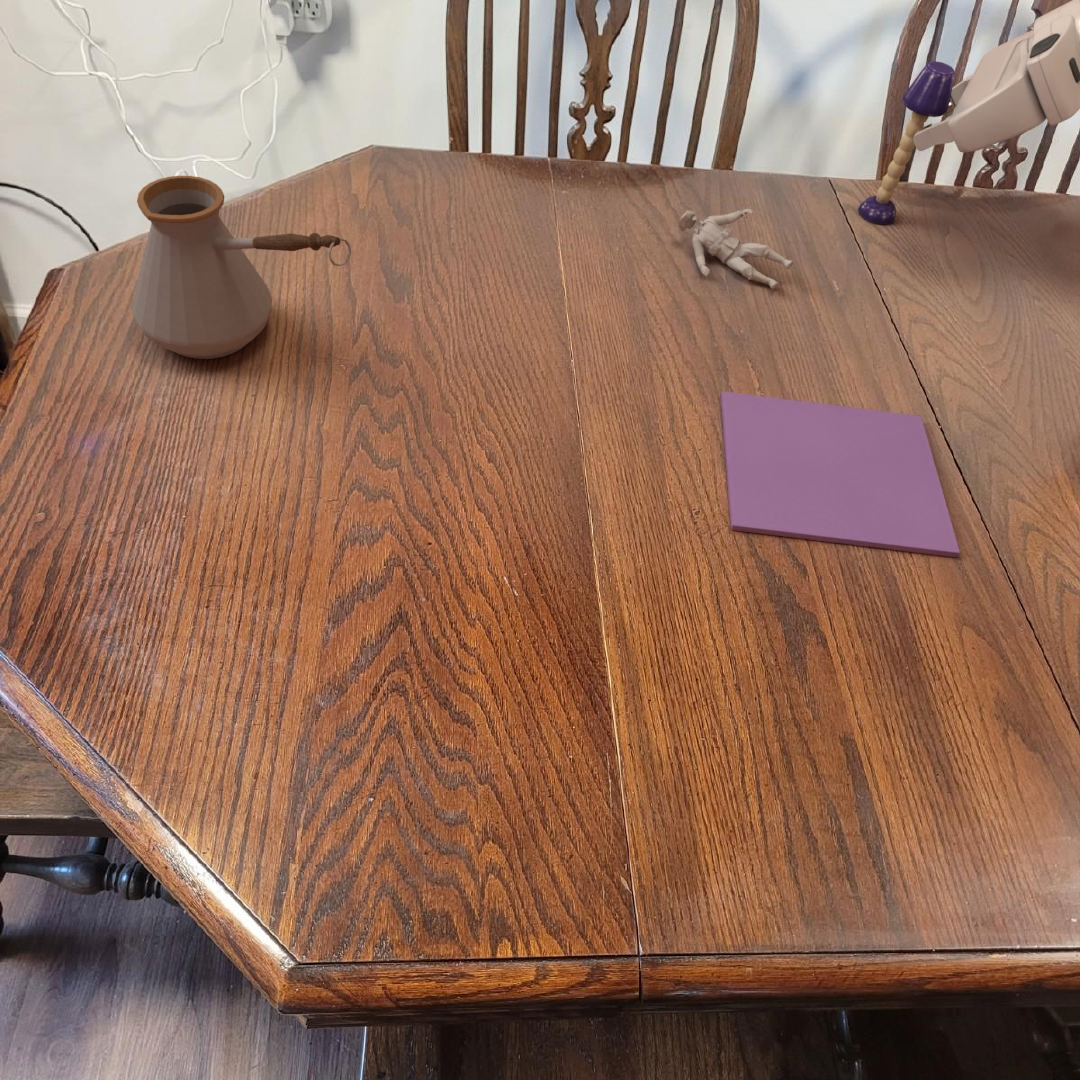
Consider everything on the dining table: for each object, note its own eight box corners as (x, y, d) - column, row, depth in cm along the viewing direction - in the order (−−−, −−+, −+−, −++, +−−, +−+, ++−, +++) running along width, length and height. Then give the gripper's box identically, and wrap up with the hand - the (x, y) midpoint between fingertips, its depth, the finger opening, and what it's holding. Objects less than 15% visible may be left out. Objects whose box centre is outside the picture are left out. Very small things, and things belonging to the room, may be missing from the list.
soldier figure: (756, 312, 94) (660, 240, 94) (750, 317, 99) (658, 249, 99) (806, 247, 93) (708, 174, 93) (797, 255, 98) (704, 186, 98)
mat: (918, 420, 84) (921, 415, 84) (957, 557, 74) (960, 552, 73) (720, 395, 84) (721, 390, 83) (730, 530, 73) (732, 525, 73)
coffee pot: (109, 340, 80) (58, 175, 69) (203, 277, 87) (171, 118, 76) (311, 439, 75) (292, 278, 64) (394, 364, 82) (390, 207, 71)
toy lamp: (904, 215, 108) (969, 66, 95) (891, 232, 105) (956, 81, 92) (865, 200, 109) (923, 51, 96) (851, 217, 106) (909, 65, 94)
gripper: (1071, -9, 94) (935, 62, 104) (1042, 60, 82) (891, 134, 92) (1092, 50, 97) (957, 114, 106) (1067, 126, 84) (917, 191, 94)
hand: (926, 124), depth 99 cm, fingers open, 8 cm apart
